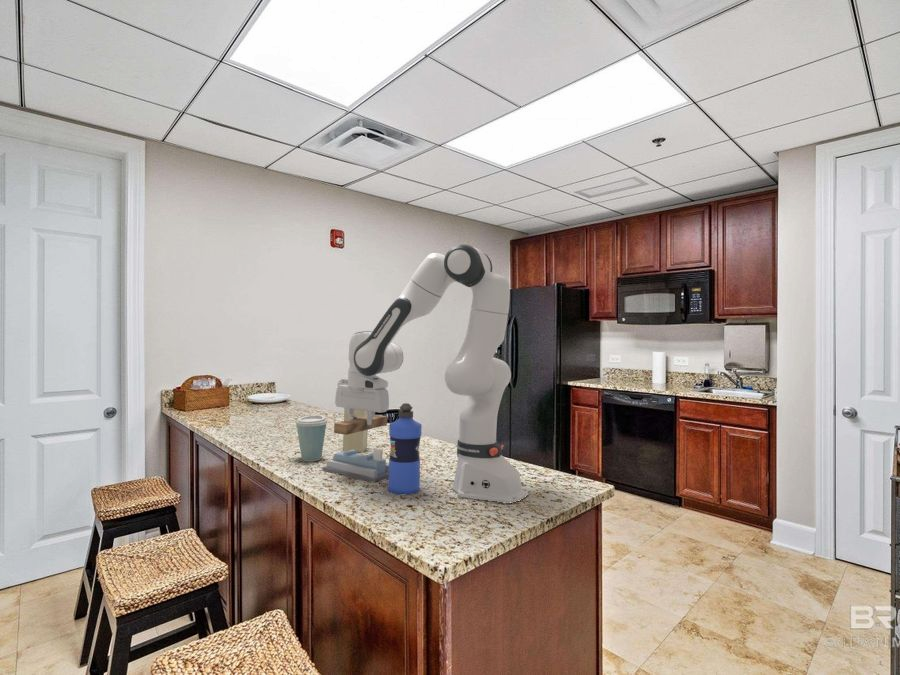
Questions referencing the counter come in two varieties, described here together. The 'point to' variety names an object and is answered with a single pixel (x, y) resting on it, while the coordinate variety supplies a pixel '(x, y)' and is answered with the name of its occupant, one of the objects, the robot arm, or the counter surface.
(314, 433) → the disposable coffee cup
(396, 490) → the water bottle
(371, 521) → the counter surface
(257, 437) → the counter surface
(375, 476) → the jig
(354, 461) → the pale blue tabbed body
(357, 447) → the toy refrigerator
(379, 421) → the brown long rectangular bar
